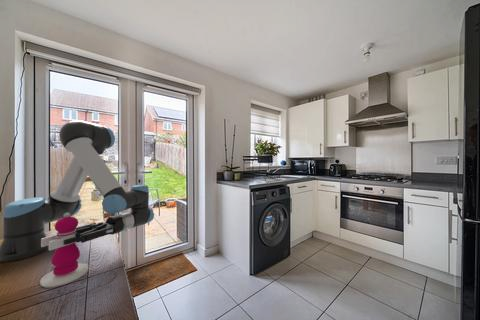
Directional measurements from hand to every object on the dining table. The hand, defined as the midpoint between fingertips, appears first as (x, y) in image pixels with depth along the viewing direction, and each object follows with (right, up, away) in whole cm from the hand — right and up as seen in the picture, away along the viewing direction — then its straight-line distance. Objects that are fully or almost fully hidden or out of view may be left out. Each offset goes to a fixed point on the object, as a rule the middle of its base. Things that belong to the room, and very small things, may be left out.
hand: (45, 244), depth 59 cm
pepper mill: (+2, -11, +5) cm, 12 cm away
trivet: (+2, -13, +4) cm, 14 cm away
